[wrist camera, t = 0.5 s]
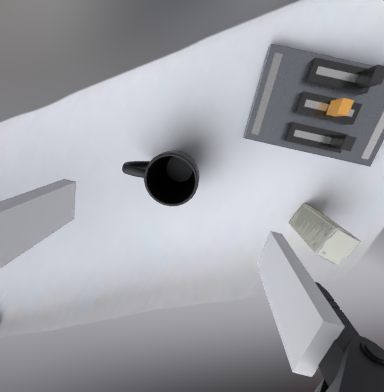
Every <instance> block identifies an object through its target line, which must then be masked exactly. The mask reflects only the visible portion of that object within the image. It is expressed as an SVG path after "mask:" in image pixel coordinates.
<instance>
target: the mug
mask: <svg viewBox="0 0 384 392" xmlns="http://www.w3.org/2000/svg"><path fill="white" fill-rule="evenodd" d="M122 171H123V172H124V173H126V174H128V175H132V176H136V177H142V178H144V182H145V187H146V189H147V191H148V193H149V194H150V196H151V197H152V198H153V199H154V200H156V201H157V202H159V203H161V204H163V205H167V206H178V205H182V204H184V203H186V202H188V201H189V200H190V199H191V198H192V197H193V196H194V194H195V192H196V190H197V187H198V182H199V171H198V168H197V165H196V163H195V161H194V160H193V159H192V158H191V157H190V156H189V155H187V154H186V153H183V152H181V151H167V152H164V153H162V154H160V155H158V156H156V157H155V158H153V159H152V160H151V161H133V162H126V163H124V165H123V167H122Z"/></svg>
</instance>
